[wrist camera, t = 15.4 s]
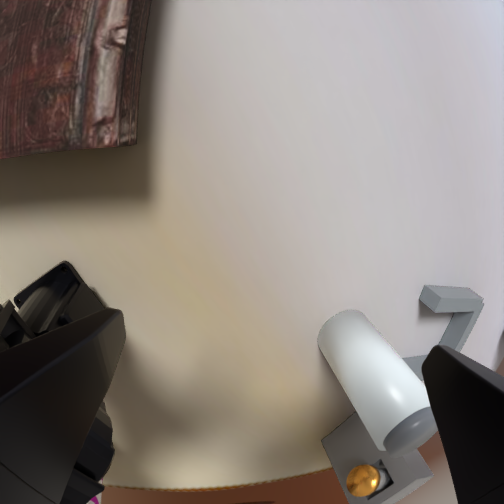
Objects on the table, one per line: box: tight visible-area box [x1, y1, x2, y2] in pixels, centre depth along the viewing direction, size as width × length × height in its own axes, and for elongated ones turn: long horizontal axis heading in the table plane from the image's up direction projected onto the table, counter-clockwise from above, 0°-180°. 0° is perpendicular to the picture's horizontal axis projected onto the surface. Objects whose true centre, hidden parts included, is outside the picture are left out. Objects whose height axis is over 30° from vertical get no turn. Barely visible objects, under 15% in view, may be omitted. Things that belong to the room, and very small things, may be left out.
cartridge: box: [318, 310, 438, 458], centre depth 19 cm, size 5×5×12 cm
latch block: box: [321, 411, 434, 504], centre depth 26 cm, size 5×8×12 cm, turn 143°
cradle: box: [402, 285, 484, 381], centre depth 27 cm, size 9×10×2 cm
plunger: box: [346, 465, 394, 497], centre depth 23 cm, size 9×4×4 cm, turn 53°
